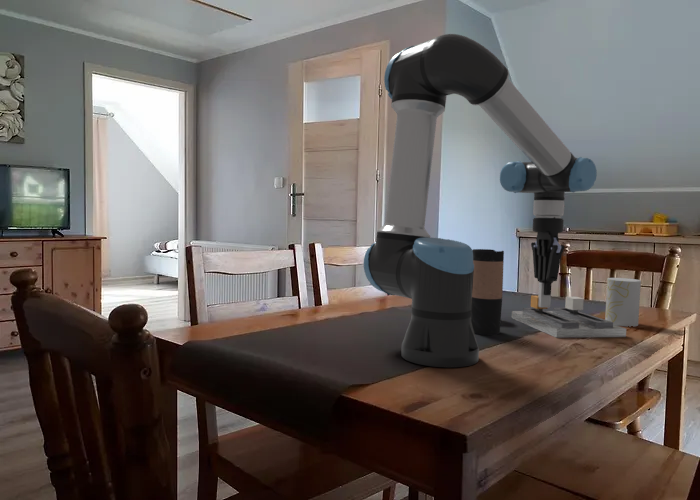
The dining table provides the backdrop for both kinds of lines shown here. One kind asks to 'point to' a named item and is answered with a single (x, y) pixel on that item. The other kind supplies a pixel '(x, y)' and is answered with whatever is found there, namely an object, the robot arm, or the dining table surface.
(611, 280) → the cup
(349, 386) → the dining table surface
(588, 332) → the console
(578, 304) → the fader right
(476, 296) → the travel mug
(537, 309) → the block
